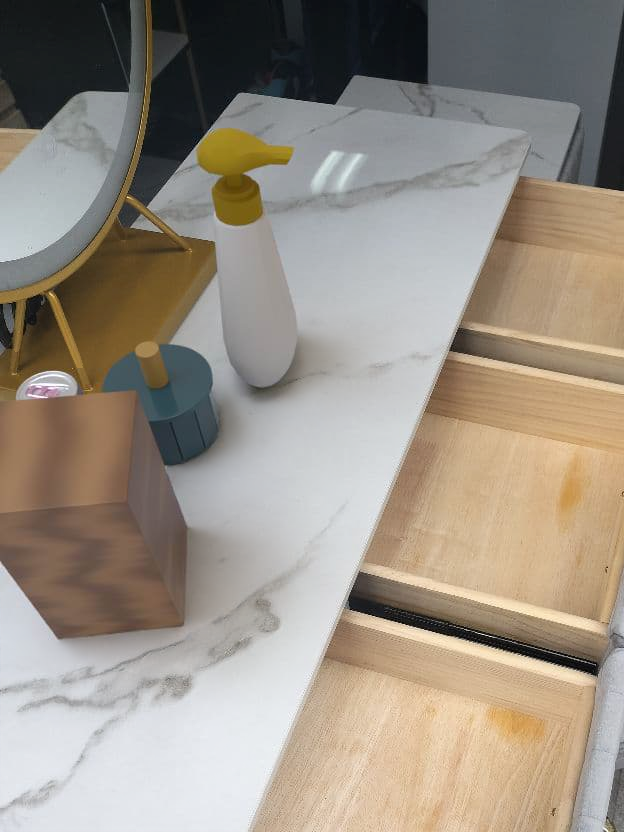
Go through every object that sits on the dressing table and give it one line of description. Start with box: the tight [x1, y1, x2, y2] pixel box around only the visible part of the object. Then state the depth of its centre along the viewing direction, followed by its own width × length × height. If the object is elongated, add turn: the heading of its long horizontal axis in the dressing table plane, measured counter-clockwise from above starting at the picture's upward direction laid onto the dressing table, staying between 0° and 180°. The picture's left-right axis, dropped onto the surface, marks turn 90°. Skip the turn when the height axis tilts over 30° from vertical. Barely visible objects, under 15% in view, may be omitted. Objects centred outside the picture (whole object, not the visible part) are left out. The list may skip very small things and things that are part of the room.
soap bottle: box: [195, 127, 298, 389], centre depth 88 cm, size 13×10×29 cm
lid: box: [102, 340, 214, 425], centre depth 86 cm, size 12×12×5 cm
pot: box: [150, 388, 221, 466], centre depth 91 cm, size 11×11×7 cm
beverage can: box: [15, 370, 85, 400], centre depth 82 cm, size 6×6×15 cm
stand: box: [0, 390, 188, 640], centre depth 74 cm, size 12×12×20 cm
